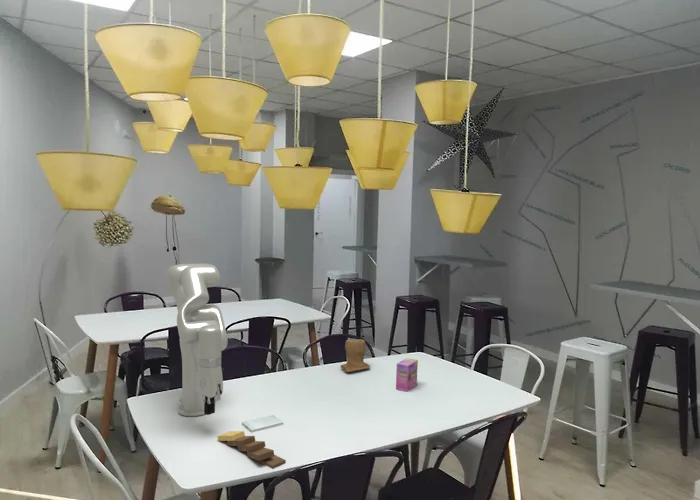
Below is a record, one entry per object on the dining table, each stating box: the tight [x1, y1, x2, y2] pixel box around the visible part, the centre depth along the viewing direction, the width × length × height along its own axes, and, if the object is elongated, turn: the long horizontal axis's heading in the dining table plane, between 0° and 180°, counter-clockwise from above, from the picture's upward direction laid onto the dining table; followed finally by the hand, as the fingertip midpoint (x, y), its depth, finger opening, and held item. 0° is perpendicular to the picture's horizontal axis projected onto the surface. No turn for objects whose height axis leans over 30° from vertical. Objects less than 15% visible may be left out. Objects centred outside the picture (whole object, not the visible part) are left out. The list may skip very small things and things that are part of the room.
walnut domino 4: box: [256, 454, 287, 469], centre depth 156 cm, size 2×5×8 cm
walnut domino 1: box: [227, 435, 256, 447], centre depth 166 cm, size 2×5×8 cm
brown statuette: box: [340, 338, 371, 373], centre depth 251 cm, size 15×12×15 cm
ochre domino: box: [217, 430, 246, 442], centre depth 169 cm, size 2×5×8 cm
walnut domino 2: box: [237, 440, 267, 452], centre depth 162 cm, size 2×5×8 cm
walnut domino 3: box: [246, 447, 275, 462], centre depth 157 cm, size 2×5×8 cm
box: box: [395, 357, 419, 393], centre depth 226 cm, size 10×6×12 cm, turn 148°
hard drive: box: [241, 414, 284, 433], centre depth 184 cm, size 2×8×12 cm
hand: (209, 413), depth 177 cm, fingers closed
